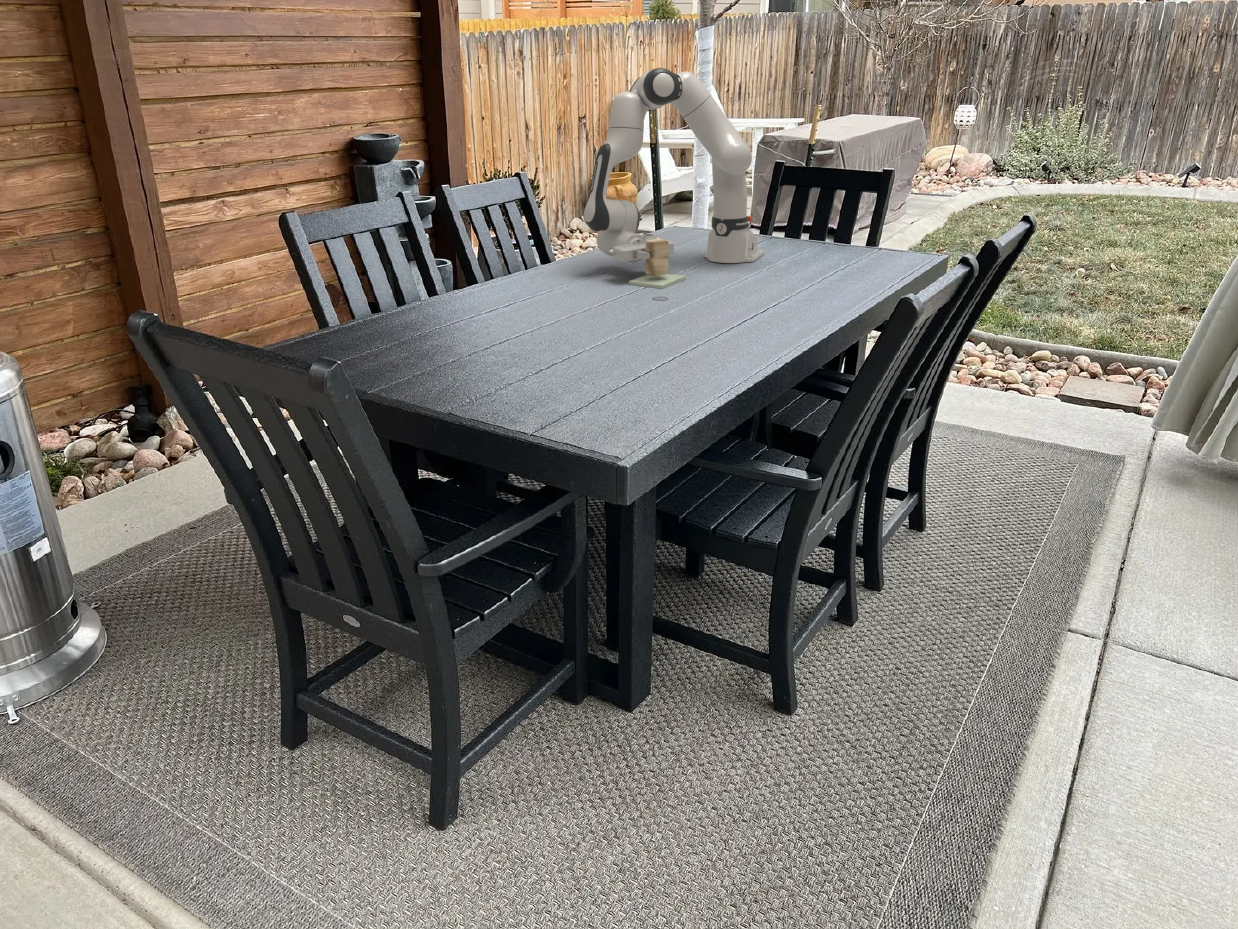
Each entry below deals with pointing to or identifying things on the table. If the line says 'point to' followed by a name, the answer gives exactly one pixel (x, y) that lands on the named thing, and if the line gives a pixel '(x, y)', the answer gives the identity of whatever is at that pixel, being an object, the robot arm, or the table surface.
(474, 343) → the table surface
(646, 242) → the oak block
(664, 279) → the sage mat
